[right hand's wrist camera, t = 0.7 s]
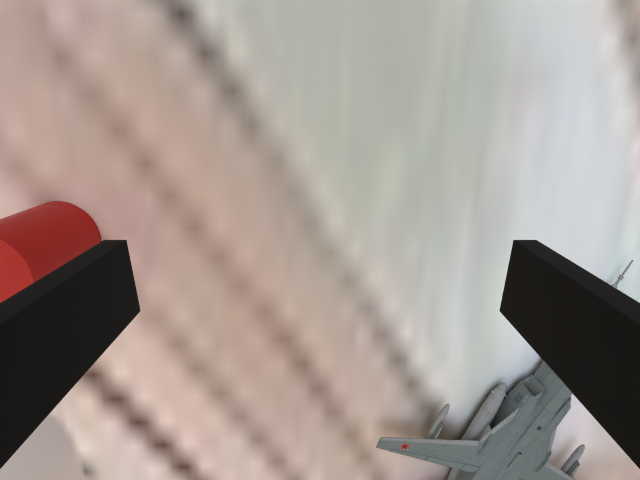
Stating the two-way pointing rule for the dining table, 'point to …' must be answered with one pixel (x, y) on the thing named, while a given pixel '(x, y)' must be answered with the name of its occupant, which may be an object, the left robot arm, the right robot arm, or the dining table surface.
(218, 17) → the dining table surface
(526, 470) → the airplane
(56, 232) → the can
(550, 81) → the dining table surface
